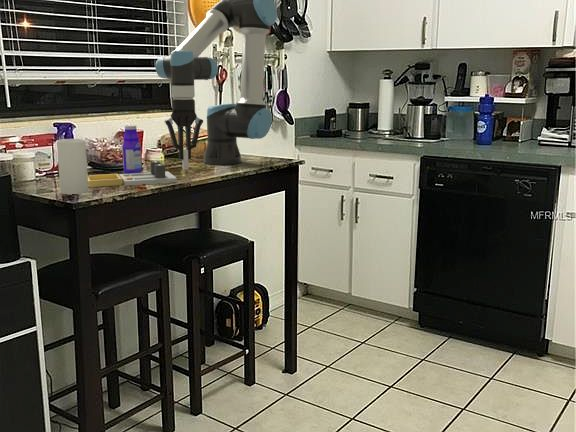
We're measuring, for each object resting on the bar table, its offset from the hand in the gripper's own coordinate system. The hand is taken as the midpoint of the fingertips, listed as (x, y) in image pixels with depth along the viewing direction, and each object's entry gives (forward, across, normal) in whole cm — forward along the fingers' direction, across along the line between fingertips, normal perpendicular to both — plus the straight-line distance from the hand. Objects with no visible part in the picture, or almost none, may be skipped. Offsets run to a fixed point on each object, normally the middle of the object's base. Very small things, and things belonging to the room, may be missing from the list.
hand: (185, 168), depth 213 cm
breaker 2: (+2, +9, 0) cm, 9 cm away
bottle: (+4, +15, -19) cm, 24 cm away
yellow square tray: (+4, +27, -4) cm, 27 cm away
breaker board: (+4, +12, -4) cm, 13 cm away
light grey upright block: (+4, +37, +8) cm, 38 cm away
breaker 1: (+2, +9, -7) cm, 11 cm away
